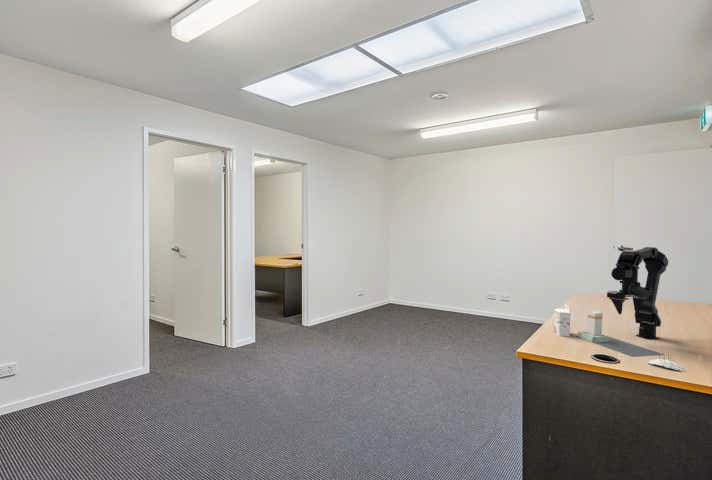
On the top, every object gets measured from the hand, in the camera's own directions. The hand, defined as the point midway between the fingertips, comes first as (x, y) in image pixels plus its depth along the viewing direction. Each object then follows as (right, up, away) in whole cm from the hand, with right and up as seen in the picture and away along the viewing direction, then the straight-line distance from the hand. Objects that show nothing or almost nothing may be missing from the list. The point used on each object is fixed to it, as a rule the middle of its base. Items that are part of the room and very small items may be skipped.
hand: (628, 313), depth 177 cm
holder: (-13, -12, +4) cm, 18 cm away
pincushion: (-8, -14, -32) cm, 36 cm away
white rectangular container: (-13, -12, +4) cm, 18 cm away
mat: (-8, -13, -5) cm, 16 cm away
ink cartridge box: (-23, -13, +13) cm, 29 cm away
